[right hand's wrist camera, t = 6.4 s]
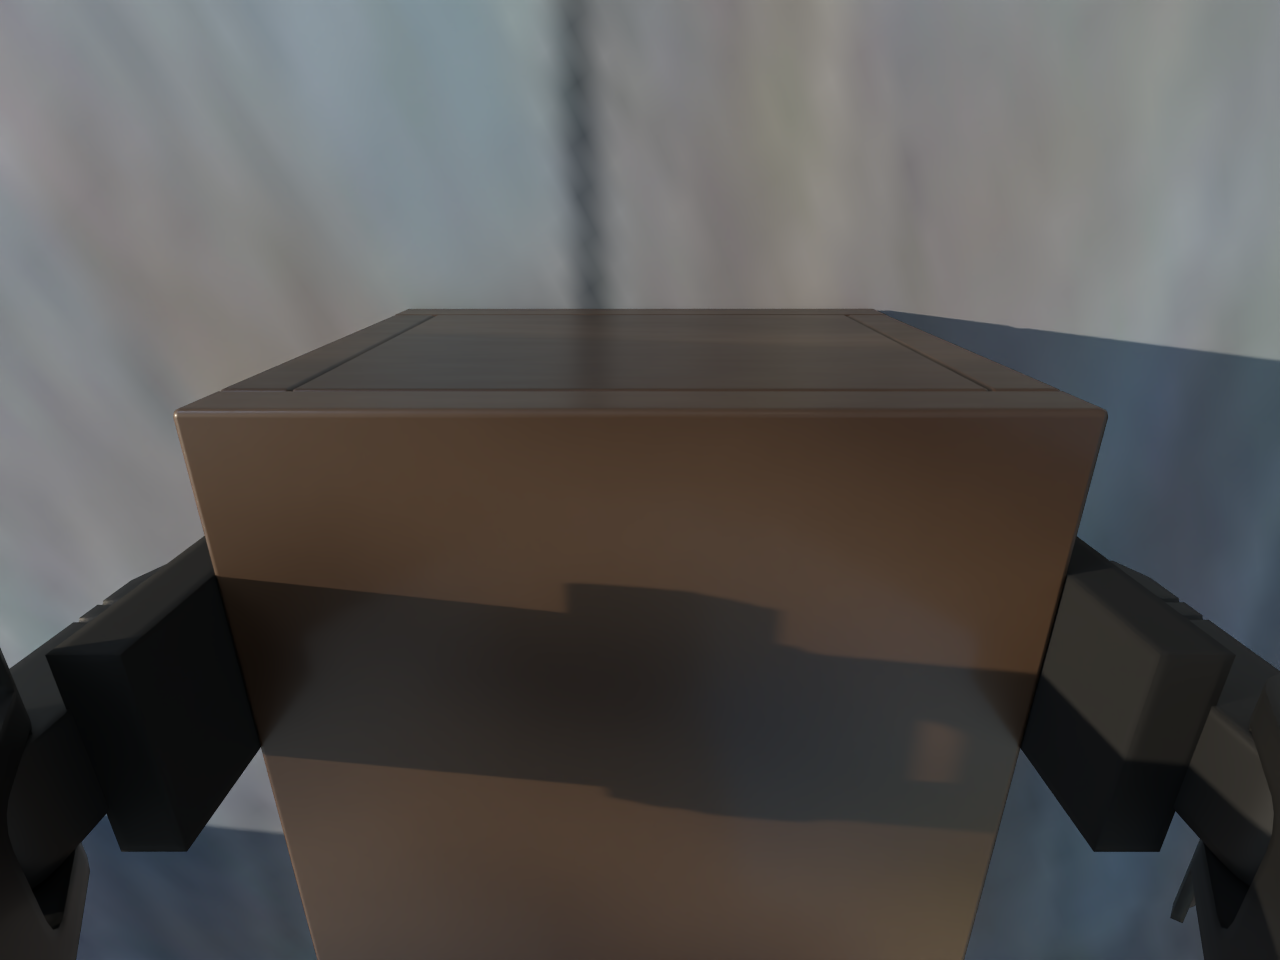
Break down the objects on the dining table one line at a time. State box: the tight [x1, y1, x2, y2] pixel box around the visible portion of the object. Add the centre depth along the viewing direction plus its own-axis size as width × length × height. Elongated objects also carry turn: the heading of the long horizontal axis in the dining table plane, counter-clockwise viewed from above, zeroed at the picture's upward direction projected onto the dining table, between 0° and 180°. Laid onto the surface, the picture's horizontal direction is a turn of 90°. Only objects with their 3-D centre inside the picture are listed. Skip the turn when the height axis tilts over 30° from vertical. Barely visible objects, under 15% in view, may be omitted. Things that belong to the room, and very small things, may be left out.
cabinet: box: [173, 309, 1108, 960], centre depth 15 cm, size 21×10×8 cm, turn 0°
